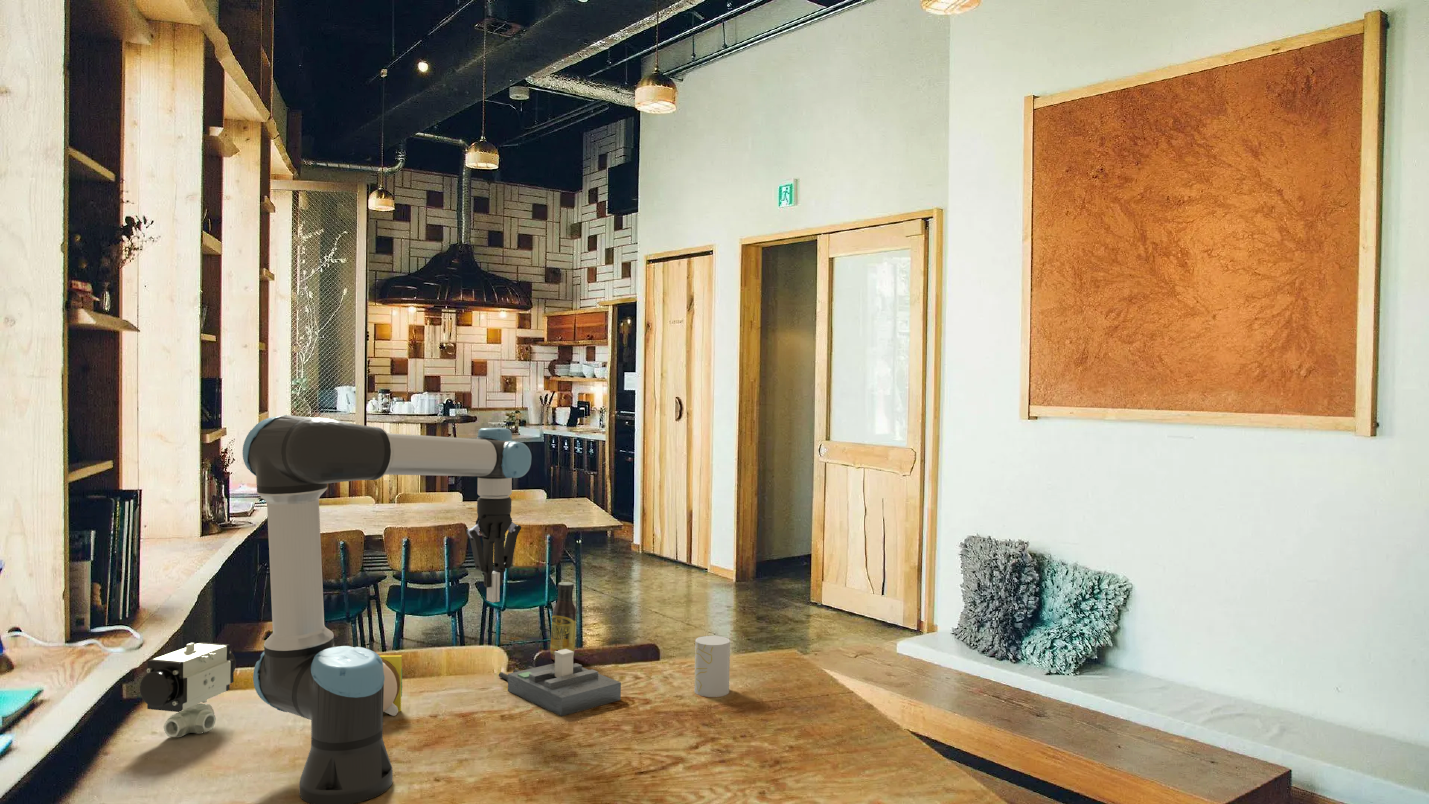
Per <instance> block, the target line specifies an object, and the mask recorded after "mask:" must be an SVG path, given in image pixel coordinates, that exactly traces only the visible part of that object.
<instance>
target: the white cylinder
mask: <svg viewBox="0 0 1429 804" xmlns="http://www.w3.org/2000/svg"><path fill="white" fill-rule="evenodd" d="M694 644H695V645H694V646H695V647H694V651H695V653H694V694H696V695H698V696H702V697H705V698H718V697H725V696H727V695H728V694H730V668H731V667H730V661H731V659H730V655H731V640H730V638H728V637H726V636H721V635H705V636H699V637H697V638H695V643H694Z"/></svg>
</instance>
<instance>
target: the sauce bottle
mask: <svg viewBox="0 0 1429 804" xmlns="http://www.w3.org/2000/svg"><path fill="white" fill-rule="evenodd" d="M574 586H575V585H574V582H571V581H560V582H558V584H557V589H558V594H557V602H556V603H555V605H554V607H553V611H552V615H551V629H550V631H551V632H550V648H549V649H550V651H549V653H550V659H551V660H553V661H555V655H554V651H556V650H563V649H568V650H571V651H573V652H574V653H575V649H576V648H575V647H576V646H575V645H576V628H577V627H576V625H577V619H576V617H577V608H576V606H575V604H574V601H573V595H574V594H573V592H574ZM574 656H575V654H574V655H573V657H574Z"/></svg>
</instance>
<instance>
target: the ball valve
mask: <svg viewBox="0 0 1429 804" xmlns="http://www.w3.org/2000/svg"><path fill="white" fill-rule="evenodd" d="M236 665H237V661H236V657H235V655H234V654H233V652H232V651H231V644H227V643H215V642H203V641H200V642H198V643H195V642H190V643H187V644H186V645H185V647H184V648H180V649H177V650H175V651H172V652H169V653H166V654H164V655H161V656H157V657H155V658H152V659H150V660H149V659H148V660H147V669H146V672H147V674H145V675H144V676H143V677H142V679H141V681H140V685H139V692H140V696H141V699H142V700H143V701H144V703H145V704H147V705H146V709H147V710H155V711H162V712H163V711H164V712H175V713H174V714H172V715H170V716H169V718H167V720H166V721H165V723H164V725H163V731H164V734H166V736H167V737H170V738H182V737H183V736H186V735H188V734H190V733H191V734H203V733H202V732H204V733H207V732H209V731H211V730H213V728H214V726H215V725H216V722H217V721H216V720H217V718H216V715H215V711H214V708H213V706H212V705H211V704H208V703H207V702H208V700H209V699H212V698H214V697H216V696H219V695H221V694H223V693H226V692H228V691H229V690H230V685H231V684H233V683H234V681H235V679H234V674H235V671H236V667H237V666H236Z"/></svg>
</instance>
